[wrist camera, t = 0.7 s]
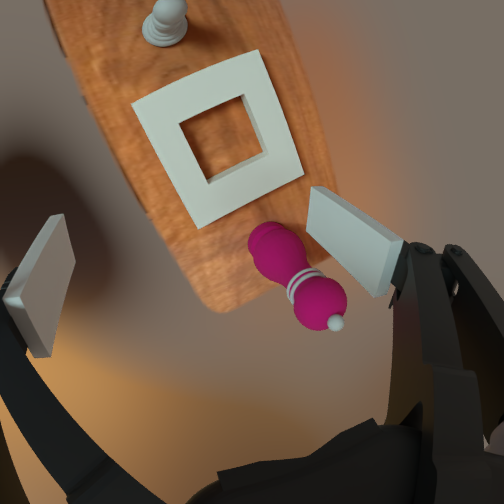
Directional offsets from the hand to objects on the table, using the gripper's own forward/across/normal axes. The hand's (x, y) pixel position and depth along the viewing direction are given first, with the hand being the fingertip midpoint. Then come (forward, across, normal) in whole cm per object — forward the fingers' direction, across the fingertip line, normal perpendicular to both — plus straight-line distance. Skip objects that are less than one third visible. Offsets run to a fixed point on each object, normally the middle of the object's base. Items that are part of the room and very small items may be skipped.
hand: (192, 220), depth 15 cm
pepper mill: (+23, +14, -15) cm, 31 cm away
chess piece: (+24, 0, +15) cm, 28 cm away
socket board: (+23, +7, +1) cm, 24 cm away
